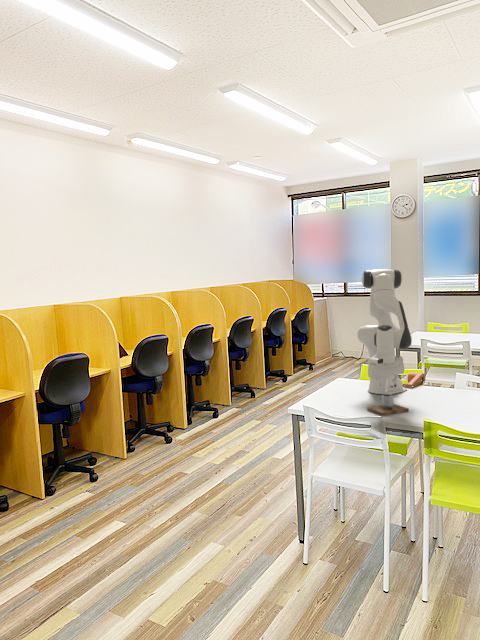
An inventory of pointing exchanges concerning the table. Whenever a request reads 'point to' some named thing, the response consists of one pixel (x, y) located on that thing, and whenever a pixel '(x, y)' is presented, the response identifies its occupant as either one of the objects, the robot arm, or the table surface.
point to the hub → (387, 400)
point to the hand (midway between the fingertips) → (386, 384)
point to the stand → (387, 409)
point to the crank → (414, 379)
